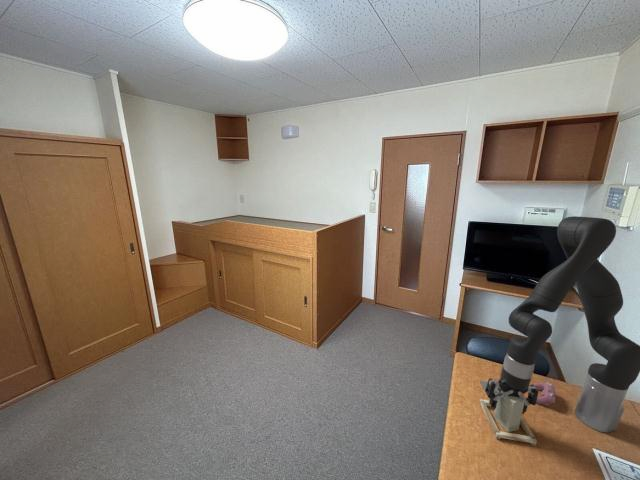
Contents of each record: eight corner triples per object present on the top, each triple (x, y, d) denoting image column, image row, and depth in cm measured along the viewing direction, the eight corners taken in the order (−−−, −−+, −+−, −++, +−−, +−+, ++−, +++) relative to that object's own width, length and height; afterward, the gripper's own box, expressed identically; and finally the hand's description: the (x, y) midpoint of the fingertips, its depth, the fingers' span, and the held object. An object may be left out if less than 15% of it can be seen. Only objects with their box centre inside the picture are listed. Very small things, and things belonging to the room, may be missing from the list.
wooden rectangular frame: (512, 408, 94) (513, 404, 93) (535, 445, 81) (537, 440, 81) (478, 403, 96) (479, 399, 95) (495, 438, 83) (497, 434, 83)
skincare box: (518, 430, 86) (526, 401, 83) (507, 432, 85) (514, 403, 82) (502, 413, 92) (509, 385, 89) (491, 415, 91) (498, 387, 88)
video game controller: (544, 411, 95) (560, 402, 91) (531, 400, 97) (546, 391, 93) (542, 393, 103) (557, 384, 99) (531, 384, 104) (544, 375, 101)
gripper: (535, 364, 86) (523, 403, 90) (488, 358, 88) (479, 396, 92) (549, 382, 78) (536, 423, 83) (498, 374, 81) (488, 415, 85)
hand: (506, 409), depth 87 cm, fingers open, 8 cm apart
